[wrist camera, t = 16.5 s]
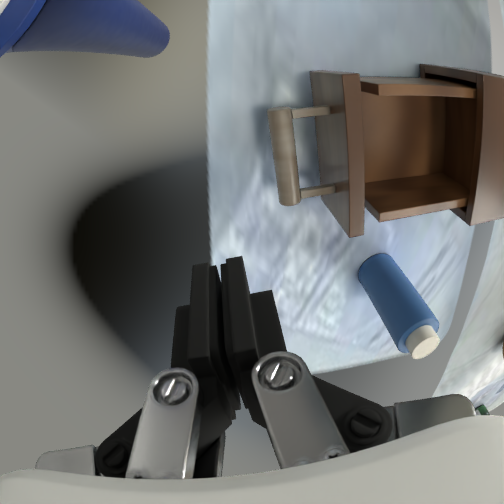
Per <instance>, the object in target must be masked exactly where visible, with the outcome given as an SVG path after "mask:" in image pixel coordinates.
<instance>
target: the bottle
mask: <svg viewBox="0 0 504 504" xmlns="http://www.w3.org/2000/svg"><path fill="white" fill-rule="evenodd" d="M358 277H359V281H360V283H361V284H362V286H363V288H364V289H365V291H366V293H367V294H368V296H369V298H370V300H371V301H372V303H373V305H374V307H375V308H376V310H377V312H378V314H379V315H380V317H381V319H382V321H383V322H384V324H385V326H386V328H387V330H388V331H389V333H390V335H391V337H392V339H393V341H394V342H395V344H396V346H397V348H398V350H399V351H401V352H403V353H409V352H410V354H411V356H412V357H413V358H414V359H420V358H423V357H425V356H427V355H429V354H430V353H431V352H433V351H434V350H435V349H436V347H437V346H438V344H439V341H440V339H439V337H438V336H437V334H436V333H437V331H438V328H439V322H438V320H437V319H436V317H435V316H434V314H433V313H432V311H431V310H430V308H429V307H428V306H427V304H426V303H425V301H424V300H423V299H422V297H421V296H420V294H419V293H418V292H417V290H416V289H415V288H414V286H413V285H412V284H411V282H410V281H409V280H408V278H407V277H406V276H405V274H404V273H403V272H402V270H401V269H400V268H399V266H398V265H397V264H396V263H395V261H394V260H393V259H392V257H391V256H389V255H387V254H377V255H374V256H372V257H370V258H369V259H367V260H366V261H365V262H364V263H363V265H362V266H361V268H360V270H359V275H358Z"/></svg>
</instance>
